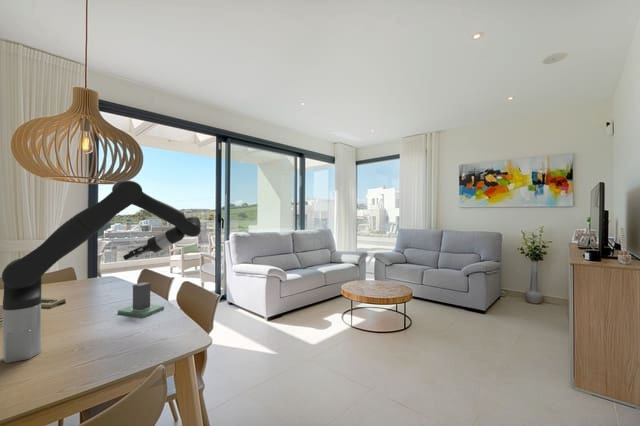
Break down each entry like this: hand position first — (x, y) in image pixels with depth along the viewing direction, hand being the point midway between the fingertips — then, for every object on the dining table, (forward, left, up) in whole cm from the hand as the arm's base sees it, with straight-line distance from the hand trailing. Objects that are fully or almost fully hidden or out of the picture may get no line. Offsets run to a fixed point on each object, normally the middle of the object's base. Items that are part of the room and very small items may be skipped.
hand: (129, 256), depth 139 cm
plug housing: (+3, -5, -26) cm, 27 cm away
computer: (+39, +37, -29) cm, 60 cm away
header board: (+3, -5, -28) cm, 28 cm away
